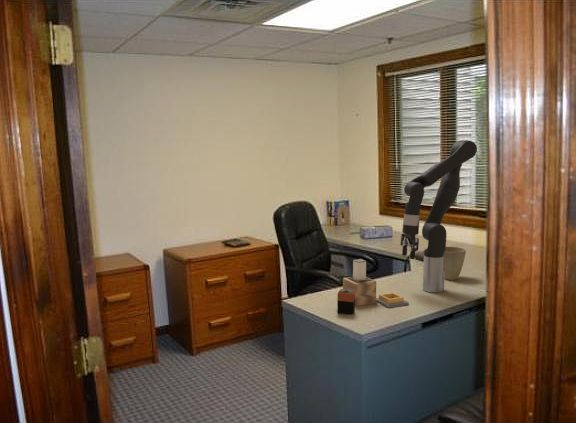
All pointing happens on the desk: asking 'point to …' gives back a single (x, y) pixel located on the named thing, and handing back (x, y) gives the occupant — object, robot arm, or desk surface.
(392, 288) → the desk surface
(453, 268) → the plant pot
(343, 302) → the battery
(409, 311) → the desk surface
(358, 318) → the desk surface
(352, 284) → the wood grain square block
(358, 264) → the plug
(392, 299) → the orange-framed grey plate
